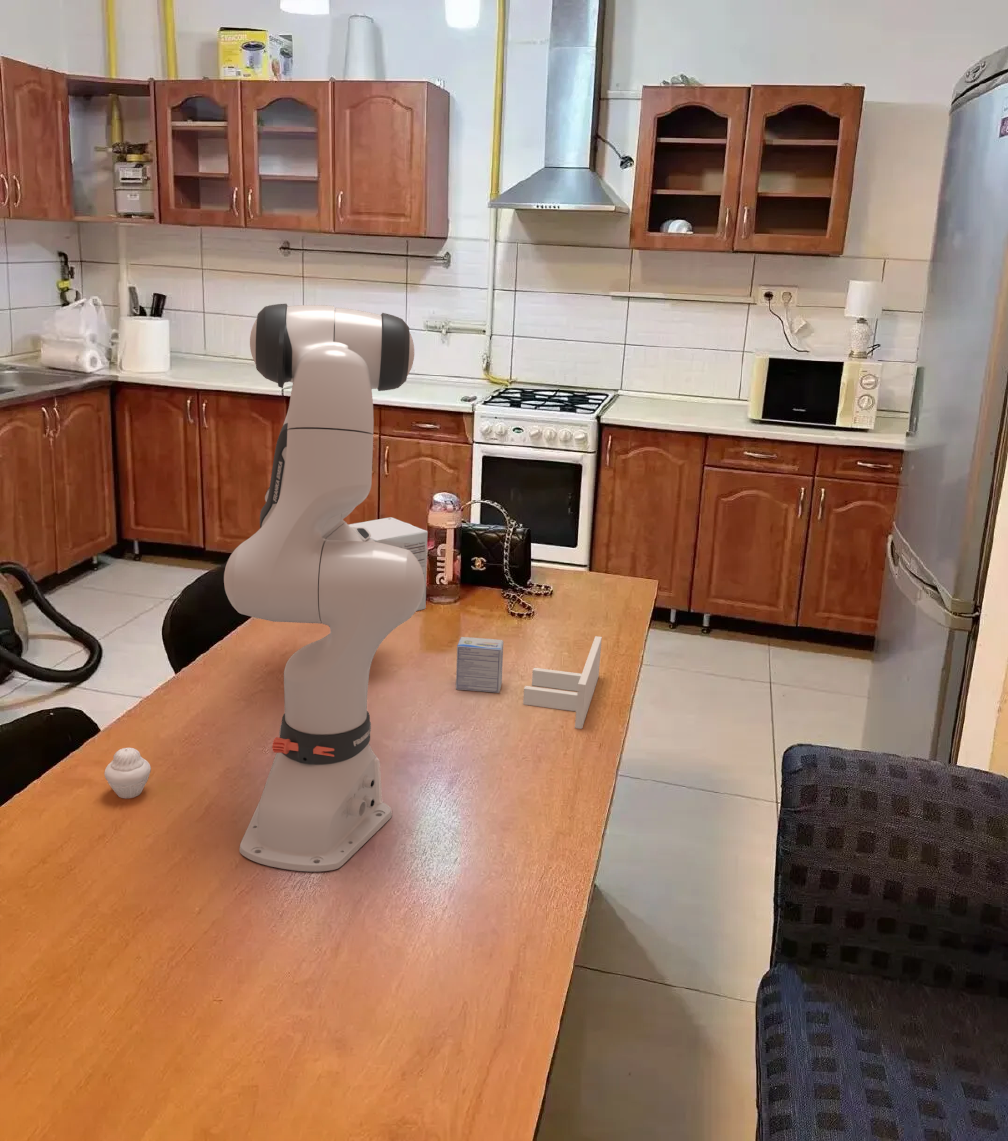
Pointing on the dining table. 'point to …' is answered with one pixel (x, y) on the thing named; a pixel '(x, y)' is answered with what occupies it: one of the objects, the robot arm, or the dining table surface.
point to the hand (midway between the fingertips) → (390, 609)
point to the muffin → (127, 773)
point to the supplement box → (400, 540)
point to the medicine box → (479, 664)
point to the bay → (566, 686)
